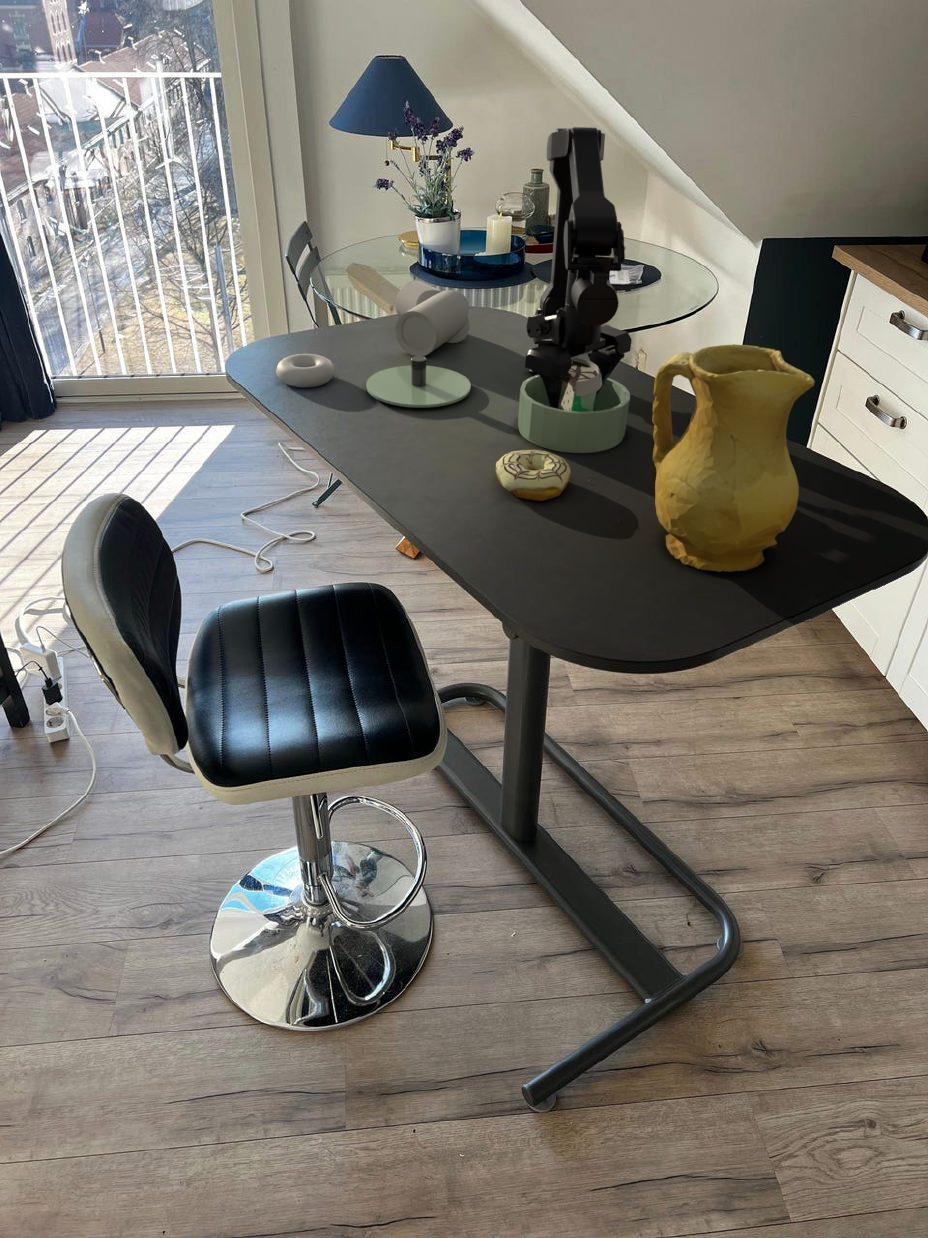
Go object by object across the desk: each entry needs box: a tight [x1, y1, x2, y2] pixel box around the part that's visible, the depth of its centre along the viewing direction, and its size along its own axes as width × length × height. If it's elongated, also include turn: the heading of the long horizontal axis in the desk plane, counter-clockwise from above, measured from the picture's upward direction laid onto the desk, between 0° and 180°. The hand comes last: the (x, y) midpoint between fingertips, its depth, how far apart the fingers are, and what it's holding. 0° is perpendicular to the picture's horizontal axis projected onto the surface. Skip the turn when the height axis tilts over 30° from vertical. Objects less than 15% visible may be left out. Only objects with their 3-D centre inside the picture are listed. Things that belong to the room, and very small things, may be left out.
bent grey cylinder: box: [395, 280, 470, 357], centre depth 176 cm, size 18×10×20 cm
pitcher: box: [651, 343, 816, 573], centre depth 112 cm, size 17×19×25 cm
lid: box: [365, 356, 472, 409], centre depth 157 cm, size 18×18×6 cm
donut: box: [276, 353, 335, 388], centre depth 160 cm, size 10×4×10 cm
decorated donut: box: [495, 449, 571, 502], centre depth 130 cm, size 10×11×4 cm
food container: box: [549, 357, 602, 412], centre depth 143 cm, size 12×6×10 cm, turn 14°
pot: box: [517, 375, 631, 454], centre depth 145 cm, size 17×17×6 cm
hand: (573, 403), depth 144 cm, fingers open, 9 cm apart
